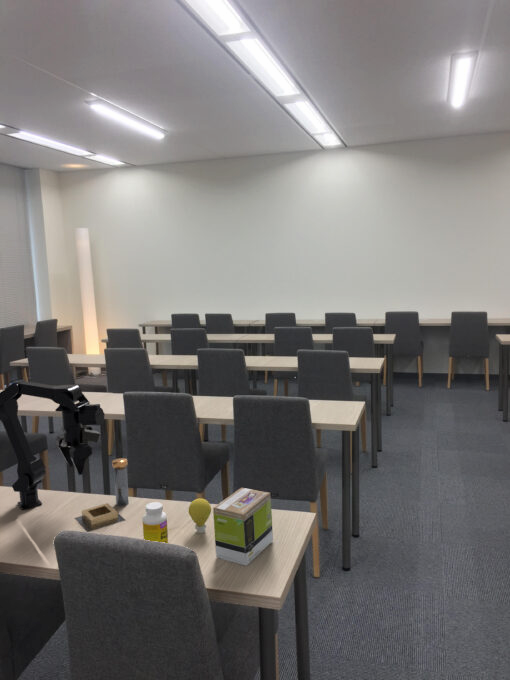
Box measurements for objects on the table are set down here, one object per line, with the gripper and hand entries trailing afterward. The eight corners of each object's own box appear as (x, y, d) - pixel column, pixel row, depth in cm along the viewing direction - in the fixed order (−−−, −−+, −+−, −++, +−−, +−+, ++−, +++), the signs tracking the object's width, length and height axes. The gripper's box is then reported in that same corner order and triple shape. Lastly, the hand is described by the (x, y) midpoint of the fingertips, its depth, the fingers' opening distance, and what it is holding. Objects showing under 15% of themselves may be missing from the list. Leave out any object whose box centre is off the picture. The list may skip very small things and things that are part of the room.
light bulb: (202, 523, 168) (201, 492, 167) (216, 530, 163) (215, 498, 162) (185, 531, 163) (183, 499, 162) (199, 539, 159) (197, 506, 157)
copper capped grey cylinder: (112, 507, 182) (109, 461, 180) (123, 501, 186) (120, 457, 184) (122, 510, 179) (119, 464, 177) (133, 504, 183) (130, 459, 181)
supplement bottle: (163, 556, 150) (160, 511, 148) (140, 554, 151) (137, 510, 149) (171, 544, 156) (169, 501, 154) (149, 542, 158) (147, 499, 156)
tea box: (243, 534, 161) (241, 485, 159) (273, 541, 156) (272, 492, 154) (214, 558, 148) (212, 506, 146) (246, 567, 143) (244, 513, 141)
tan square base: (74, 520, 173) (73, 510, 173) (111, 509, 180) (110, 499, 180) (88, 534, 163) (87, 524, 163) (126, 522, 170) (125, 512, 170)
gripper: (107, 425, 175) (110, 472, 177) (86, 414, 190) (90, 457, 192) (72, 432, 169) (75, 481, 171) (53, 420, 184) (57, 465, 186)
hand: (75, 470), depth 180 cm, fingers open, 9 cm apart
